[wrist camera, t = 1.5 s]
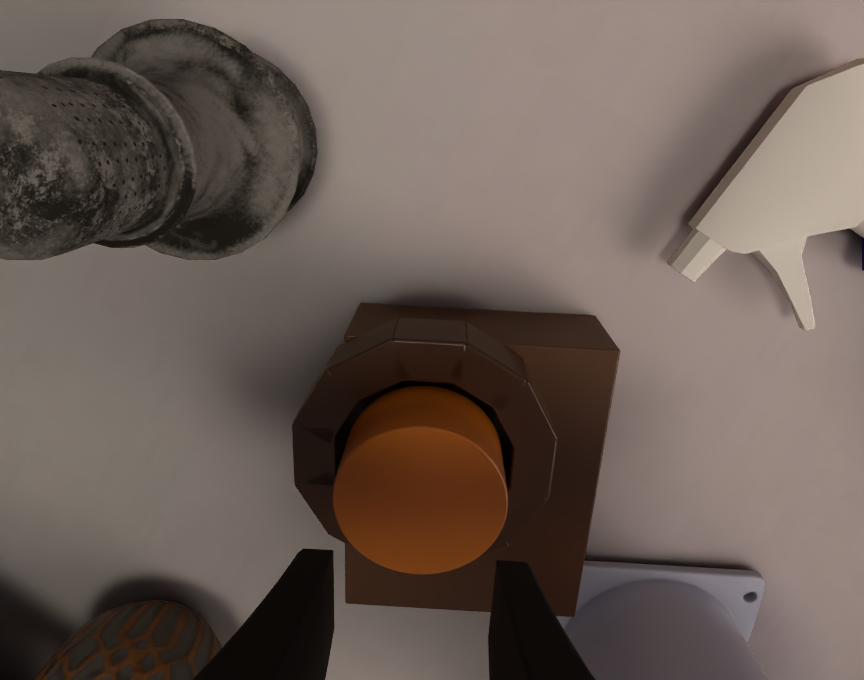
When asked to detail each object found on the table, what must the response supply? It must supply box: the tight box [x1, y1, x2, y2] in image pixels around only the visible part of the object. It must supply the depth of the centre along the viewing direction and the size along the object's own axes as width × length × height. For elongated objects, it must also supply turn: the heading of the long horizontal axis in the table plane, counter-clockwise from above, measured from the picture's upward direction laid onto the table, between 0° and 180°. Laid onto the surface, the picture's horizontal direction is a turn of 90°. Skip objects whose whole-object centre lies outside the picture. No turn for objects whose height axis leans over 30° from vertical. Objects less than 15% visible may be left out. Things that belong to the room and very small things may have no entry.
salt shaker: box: [0, 19, 317, 260], centre depth 13 cm, size 6×6×12 cm
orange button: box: [332, 386, 508, 574], centre depth 16 cm, size 4×4×2 cm
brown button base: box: [292, 303, 620, 617], centre depth 20 cm, size 11×9×5 cm
